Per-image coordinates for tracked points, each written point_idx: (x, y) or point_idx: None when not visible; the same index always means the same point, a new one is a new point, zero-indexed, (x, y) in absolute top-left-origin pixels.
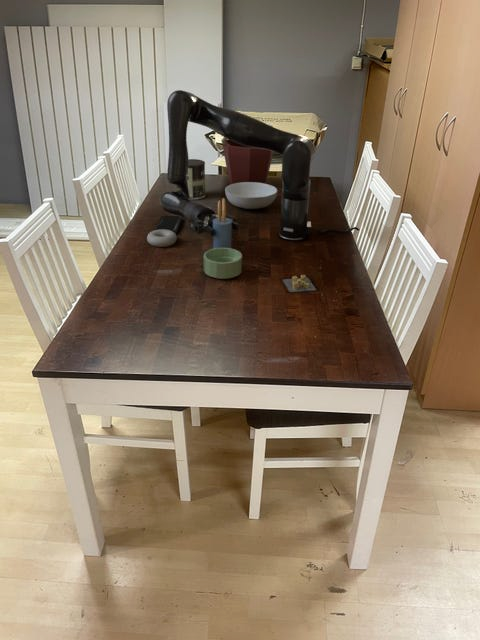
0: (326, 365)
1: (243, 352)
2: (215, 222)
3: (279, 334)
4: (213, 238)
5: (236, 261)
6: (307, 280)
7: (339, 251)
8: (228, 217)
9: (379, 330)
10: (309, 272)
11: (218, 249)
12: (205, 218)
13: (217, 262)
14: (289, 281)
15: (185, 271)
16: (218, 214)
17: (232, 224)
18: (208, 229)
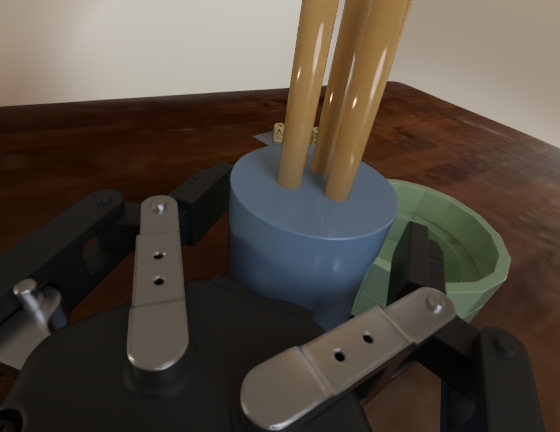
0: (443, 107)
1: (530, 153)
2: (385, 202)
3: (453, 136)
4: (351, 313)
5: (405, 181)
6: (266, 135)
7: (61, 116)
8: (68, 255)
9: None
10: (225, 138)
11: (387, 266)
12: (332, 384)
13: (475, 214)
14: None
15: (544, 413)
16: (368, 133)
17: (212, 198)
18: (438, 264)
